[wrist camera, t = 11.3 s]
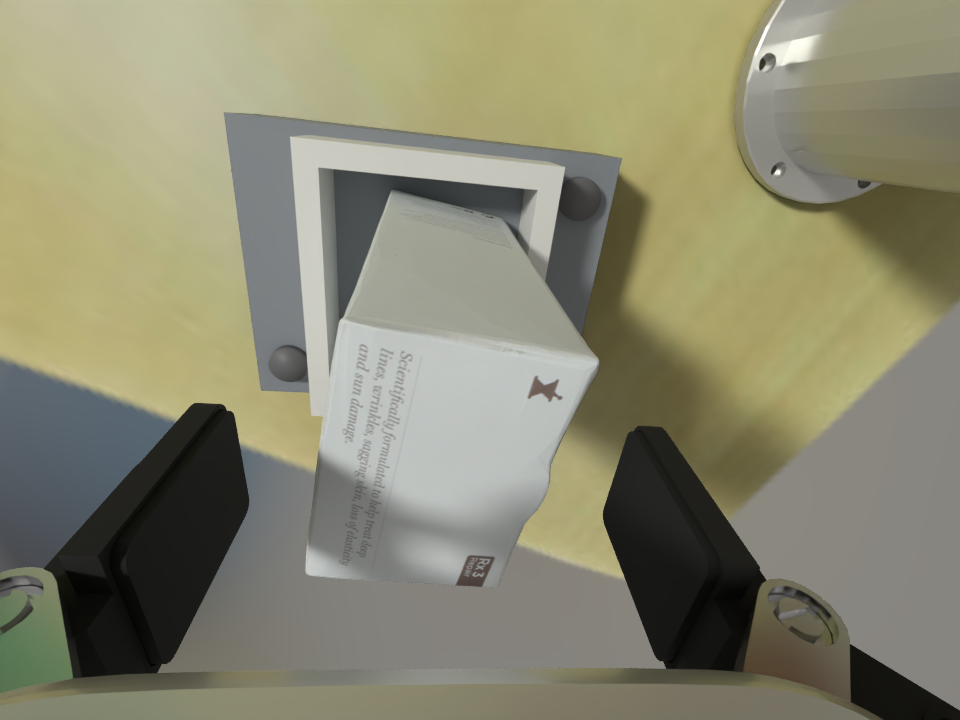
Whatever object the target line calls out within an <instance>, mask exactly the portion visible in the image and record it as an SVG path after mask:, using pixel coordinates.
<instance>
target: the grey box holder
mask: <svg viewBox="0 0 960 720" xmlns="http://www.w3.org/2000/svg"><path fill="white" fill-rule="evenodd" d="M224 117H225V125H226V132H227V140H228V147H229V155H230V162H231V170H232V177H233V185H234V192H235V199H236V207H237V214H238V222H239V229H240V237H241V244H242V252H243V259H244V267H245V274H246V282H247V289H248V297H249V304H250V312H251V319H252V327H253V334H254V342H255V349H256V357H257V364H258V372H259V379H260V387H261V391H284V392H307V393H310V404H311V416H324V409H325V403H326V396H327V390H328V383H329V377H330V371H331V365H332V359H333V353H334V348H335V342H336V336H337V331H338V325H339V322H340V320H341V319H342V318H343V317H344V315H345V312H346V309H347V307H348V304H349V302H350V299H351V297H352V295H353V292H354V290H355V287H356V285H357V282H358V279H359V277H360V274H361V271H362V268H363V266H364V263H365V260H366V258H367V255H368V252H369V249H370V247H371V244H372V241H373V238H374V235H375V233H376V230H377V227H378V224H379V222H380V219H381V217H382V214H383V212H384V209H385V206H386V203H387V201H388V198H389V195H390V192H391V191H392V190H398V191H401V192H405V193H409V194H413V195H416V196H420V197H424V198H428V199H432V200H436V201H439V202H443V203H447V204H451V205H455V206H459V207H462V208H466V209H470V210H474V211H477V212H481V213H485V214H488V215H492V216H496V217H499V218H502V219H504V221H505V222H506V224H507V225H508V227H509V228H510V230H511V231H512V233H513V234H514V236H515V238H516V239H517V240H518V242H519V244H520V245H521V247H522V248H523V250H524V251H525V253H526V254H527V256H528V257H529V259H530V260H531V262H532V263H533V265H534V266H535V267H536V269H537V271H538V272H539V274H540V275H541V277H542V278H543V280H544V281H545V283H546V284H547V286H548V287H549V289H550V290H551V292H552V293H553V295H554V296H555V298H556V299H557V301H558V302H559V304H560V305H561V307H562V308H563V310H564V311H565V313H566V314H567V316H568V317H569V319H570V320H571V322H572V323H573V324H574V326H575V328H576V329H577V331H578V332H579V334H580V335H581V336H582V331H583V327H584V323H585V318H586V314H587V309H588V305H589V301H590V296H591V292H592V287H593V283H594V279H595V274H596V270H597V266H598V261H599V257H600V252H601V248H602V244H603V239H604V235H605V230H606V226H607V222H608V217H609V213H610V209H611V204H612V200H613V195H614V191H615V187H616V182H617V178H618V173H619V169H620V165H621V160H622V158H617V157H612V156H607V155H601V154H596V153H588V152H579V151H571V150H562V149H553V148H545V147H536V146H527V145H519V144H510V143H502V142H493V141H484V140H476V139H467V138H458V137H450V136H441V135H433V134H424V133H415V132H407V131H398V130H389V129H381V128H372V127H364V126H355V125H346V124H338V123H329V122H320V121H312V120H303V119H295V118H286V117H277V116H269V115H260V114H245V113H224Z"/></svg>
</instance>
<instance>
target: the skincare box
mask: <svg viewBox="0 0 960 720" xmlns="http://www.w3.org/2000/svg"><path fill="white" fill-rule="evenodd" d="M598 368H599V359H598V357H597V356H596V355H595V354H594V353H593V352H592V351H591V349H590V348H589V347H588V346H587V344H586V342H585V341H584V339H583V338H582V337H581V335H580V334H579V332H578V331H577V329H576V328H575V326H574V324H573V323H572V322H571V320H570V319H569V317H568V316H567V314H566V313H565V311H564V310H563V308H562V307H561V305H560V304H559V302H558V301H557V299H556V298H555V296H554V295H553V293H552V292H551V290H550V289H549V287H548V286H547V284H546V283H545V281H544V280H543V278H542V277H541V275H540V274H539V272H538V271H537V269H536V267H535V266H534V265H533V263H532V262H531V260H530V259H529V257H528V256H527V254H526V253H525V251H524V250H523V248H522V247H521V245H520V244H519V242H518V240H517V239H516V238H515V236H514V234H513V233H512V231H511V230H510V228H509V227H508V225H507V224H506V222H505V221H504V219H502V218H499V217H496V216H492V215H488V214H485V213H481V212H477V211H474V210H470V209H466V208H462V207H459V206H455V205H451V204H447V203H443V202H439V201H436V200H432V199H428V198H424V197H420V196H416V195H413V194H409V193H405V192H401V191H398V190H392V191H391V192H390V195H389V198H388V201H387V203H386V206H385V209H384V212H383V214H382V217H381V219H380V222H379V224H378V227H377V230H376V233H375V235H374V238H373V241H372V244H371V247H370V249H369V252H368V255H367V258H366V260H365V263H364V266H363V268H362V271H361V274H360V277H359V279H358V282H357V285H356V287H355V290H354V292H353V295H352V297H351V299H350V302H349V304H348V307H347V309H346V312H345V315H344V317H343V318H342V319H341V320H340V322H339V325H338V331H337V336H336V342H335V348H334V353H333V359H332V365H331V371H330V377H329V383H328V390H327V396H326V403H325V409H324V416H323V422H322V429H321V437H320V445H319V452H318V459H317V467H316V474H315V484H314V494H313V502H312V509H311V517H310V525H309V533H308V542H307V553H306V573H307V574H308V575H310V576H322V577H330V578H343V579H357V580H375V581H392V582H407V583H424V584H439V585H458V586H460V585H461V586H477V587H490V588H492V587H496V586H498V585H499V584H500V581H501V579H502V576H503V573H504V571H505V569H506V567H507V564H508V562H509V559H510V557H511V554H512V551H513V549H514V547H515V545H516V542H517V540H518V538H519V536H520V533H521V531H522V529H523V527H524V524H525V523H526V522H527V520H528V519H529V518H530V517H531V516H532V515H533V514H534V513H535V512H536V511H537V510H538V508H539V506H540V505H541V503H542V502H543V500H544V498H545V496H546V493H547V491H548V488H549V484H550V466H551V463H552V461H553V459H554V456H555V454H556V452H557V450H558V447H559V445H560V443H561V441H562V438H563V436H564V434H565V432H566V430H567V428H568V425H569V423H570V421H571V419H572V417H573V416H574V414H575V412H576V410H577V408H578V406H579V404H580V403H581V401H582V399H583V397H584V396H585V394H586V392H587V390H588V388H589V387H590V385H591V383H592V381H593V379H594V377H595V376H596V374H597V371H598Z"/></svg>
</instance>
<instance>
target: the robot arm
mask: <svg viewBox="0 0 960 720" xmlns="http://www.w3.org/2000/svg"><path fill="white" fill-rule="evenodd" d="M759 62H760V67H759ZM734 123H735V130H736V137H737V143H738V146H739V149H740V152H741V155H742V157H743V160H744V163H745V164H746V166H747V167H748V169H749V170H750V172H751V173H752V175H753V176H754V178H755V179H756V180H757V181H759V182H760V183H761V184H762V185H763V186H764V187H765V188H766V189H767V190H769V191H771V192H773V193H775V194H777V195H779V196H781V197H783V198H787V199H791V200H795V201H799V202H806V203H815V204H823V203H833V202H840V201H843V200H847V199H850V198H853V197H857V196H860V195H862V194H864V193H866V192H868V191H870V190H872V189H874V188H876V187H878V186H880V185H882V184H890V185H898V186H905V187H912V188H920V189H927V190H934V191H942V192H949V193H957V194H960V0H774V2H773V3H772V4H771V6H770V7H769V9H768V10H767V12H766V13H765V15H764V16H763V18H762V20H761V22H760V24H759V26H758V28H757V30H756V32H755V34H754V36H753V38H752V40H751V42H750V44H749V47H748V50H747V52H746V55H745V58H744V61H743V64H742V67H741V70H740V74H739V79H738V84H737V90H736V95H735V114H734ZM248 506H249V495H248V489H247V484H246V478H245V473H244V467H243V462H242V456H241V450H240V444H239V439H238V433H237V428H236V422H235V417H234V414H233V412H231V411H227V410H226V407H225V406H224V405H222V404H207V403H194V404H193V405H191V406H190V407H189V408H188V410H187V411H186V412H185V413H184V414H183V415H182V416H181V417H180V418H179V420H178V421H177V422H176V423H175V424H174V425H173V426H172V428H171V429H170V430H169V431H168V432H167V433H166V434H165V435H164V436H163V438H162V439H161V440H160V441H159V442H158V443H157V444H156V446H155V447H154V448H153V449H152V450H151V451H150V452H149V453H148V455H147V456H146V457H145V458H144V459H143V460H142V461H141V462H140V463H139V464H138V465H137V466H136V467H135V468H133V470H132V471H131V472H130V473H129V474H128V475H127V476H126V477H125V479H124V480H123V481H122V482H121V483H120V484H119V485H118V486H117V488H116V489H115V490H114V491H113V492H112V493H111V494H110V495H109V496H108V498H107V499H106V500H105V501H104V502H103V503H102V504H101V506H100V507H99V508H98V509H97V510H96V511H95V512H94V513H93V514H92V515H91V516H90V518H89V519H88V520H87V521H86V522H85V523H84V524H83V525H82V527H81V528H80V529H79V530H78V531H77V532H76V533H75V534H74V535H73V537H72V538H71V539H70V540H69V541H68V542H67V543H66V545H65V546H64V547H63V548H62V549H61V550H60V551H59V552H58V553H57V554H56V556H55V557H54V558H53V559H52V560H51V561H50V562H49V563H48V565H47V566H46V567H45V568H44V569H42V568H32V567H26V568H19V569H12V570H9V571H5V572H2V573H0V720H960V711H959V710H958V709H956V708H954V707H953V706H951V705H950V704H948V703H946V702H945V701H943V700H941V699H940V698H938V697H937V696H935V695H933V694H931V693H930V692H928V691H927V690H925V689H923V688H922V687H920V686H918V685H917V684H915V683H913V682H912V681H910V680H908V679H907V678H905V677H903V676H902V675H900V674H899V673H897V672H895V671H894V670H892V669H890V668H889V667H887V666H885V665H884V664H882V663H880V662H879V661H877V660H875V659H874V658H872V657H871V656H869V655H867V654H866V653H864V652H862V651H861V650H859V649H857V648H856V647H854V646H852V645H851V644H850V639H849V635H848V631H847V628H846V626H845V624H844V622H843V621H842V619H841V617H840V616H839V615H838V614H837V613H836V611H835V610H834V609H833V608H832V607H831V605H829V604H828V603H827V602H826V601H825V600H823V599H822V598H821V597H820V596H819V595H817V594H816V593H814V592H812V591H811V590H809V589H808V588H806V587H804V586H802V585H799V584H797V583H795V582H793V581H788V580H784V579H769V580H766V579H765V578H764V576H763V574H762V573H761V572H760V570H759V569H760V567H759V565H758V564H757V562H756V561H755V559H754V558H753V557H752V555H751V554H750V552H749V551H748V549H747V548H746V546H745V545H744V544H743V542H742V541H741V539H740V538H739V536H738V535H737V534H736V532H735V531H734V529H733V528H732V527H731V525H730V523H729V522H728V520H727V519H726V518H725V516H724V515H723V513H722V512H721V510H720V509H719V507H718V506H717V505H716V503H715V502H714V500H713V499H712V497H711V496H710V494H709V493H708V492H707V490H706V489H705V487H704V486H703V484H702V483H701V481H700V480H699V479H698V477H697V476H696V474H695V473H694V471H693V470H692V468H691V467H690V466H689V464H688V463H687V461H686V460H685V458H684V457H683V455H682V454H681V453H680V451H679V450H678V448H677V447H676V445H675V444H674V442H673V441H672V440H671V438H670V437H669V435H668V434H667V432H666V431H665V430H664V429H663V428H662V427H651V426H638V427H637V428H636V429H635V430H634V431H631V432H629V433H628V435H627V438H626V441H625V444H624V447H623V451H622V454H621V457H620V460H619V463H618V466H617V469H616V472H615V475H614V478H613V482H612V485H611V488H610V491H609V494H608V497H607V500H606V503H605V506H604V510H603V520H604V525H605V527H606V530H607V533H608V535H609V538H610V540H611V543H612V546H613V548H614V551H615V553H616V556H617V559H618V561H619V564H620V567H621V569H622V572H623V574H624V577H625V580H626V582H627V585H628V587H629V590H630V593H631V595H632V598H633V600H634V603H635V606H636V608H637V611H638V613H639V616H640V619H641V621H642V624H643V626H644V629H645V631H646V634H647V637H648V639H649V642H650V645H651V647H652V650H653V652H654V655H655V656H656V658H657V659H658V660H659V661H663V662H664V664H665V667H666V669H637V668H608V669H607V668H591V669H590V668H586V669H585V668H579V669H578V668H574V669H573V668H569V669H568V668H565V669H562V668H561V669H560V668H558V669H384V670H379V669H378V670H295V671H294V670H291V671H218V672H183V673H157V672H158V670H159V668H160V666H161V664H167V663H168V662H170V661H171V660H172V659H173V657H174V655H175V654H176V652H177V650H178V648H179V646H180V644H181V642H182V640H183V638H184V636H185V634H186V632H187V630H188V628H189V626H190V624H191V622H192V620H193V618H194V616H195V614H196V612H197V610H198V608H199V606H200V604H201V602H202V601H203V598H204V596H205V595H206V593H207V591H208V589H209V587H210V585H211V583H212V581H213V579H214V576H215V575H216V573H217V571H218V569H219V567H220V565H221V563H222V561H223V559H224V557H225V555H226V553H227V551H228V549H229V547H230V545H231V543H232V541H233V539H234V537H235V536H236V534H237V532H238V530H239V528H240V525H241V524H242V522H243V520H244V518H245V516H246V513H247V511H248Z"/></svg>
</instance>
